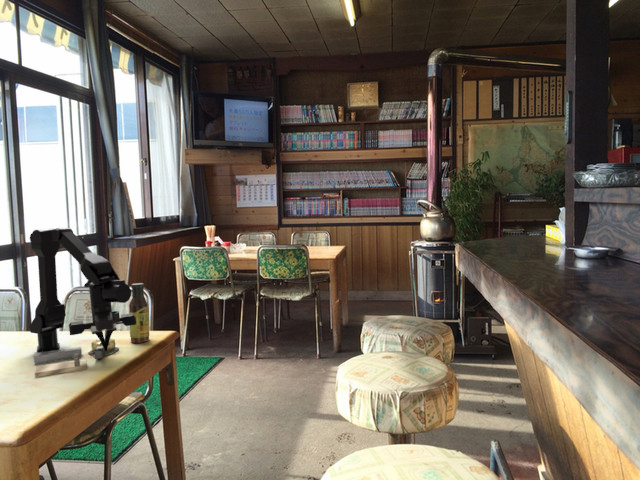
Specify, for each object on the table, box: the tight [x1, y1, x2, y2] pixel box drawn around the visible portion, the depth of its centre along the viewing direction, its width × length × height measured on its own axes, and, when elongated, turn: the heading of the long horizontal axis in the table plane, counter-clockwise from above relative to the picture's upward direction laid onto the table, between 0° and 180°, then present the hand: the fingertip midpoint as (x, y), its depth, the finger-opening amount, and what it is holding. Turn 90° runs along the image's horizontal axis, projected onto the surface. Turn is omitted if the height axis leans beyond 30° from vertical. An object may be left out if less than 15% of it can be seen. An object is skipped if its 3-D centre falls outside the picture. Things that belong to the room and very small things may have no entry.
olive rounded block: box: [90, 338, 116, 360], centre depth 157 cm, size 14×7×3 cm, turn 15°
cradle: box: [34, 354, 88, 378], centre depth 143 cm, size 13×6×3 cm, turn 117°
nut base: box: [88, 346, 120, 357], centre depth 160 cm, size 9×9×1 cm
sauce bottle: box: [128, 282, 150, 344], centre depth 170 cm, size 6×6×20 cm
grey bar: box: [33, 346, 83, 365], centre depth 153 cm, size 13×4×3 cm, turn 117°
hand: (105, 350), depth 154 cm, fingers closed
